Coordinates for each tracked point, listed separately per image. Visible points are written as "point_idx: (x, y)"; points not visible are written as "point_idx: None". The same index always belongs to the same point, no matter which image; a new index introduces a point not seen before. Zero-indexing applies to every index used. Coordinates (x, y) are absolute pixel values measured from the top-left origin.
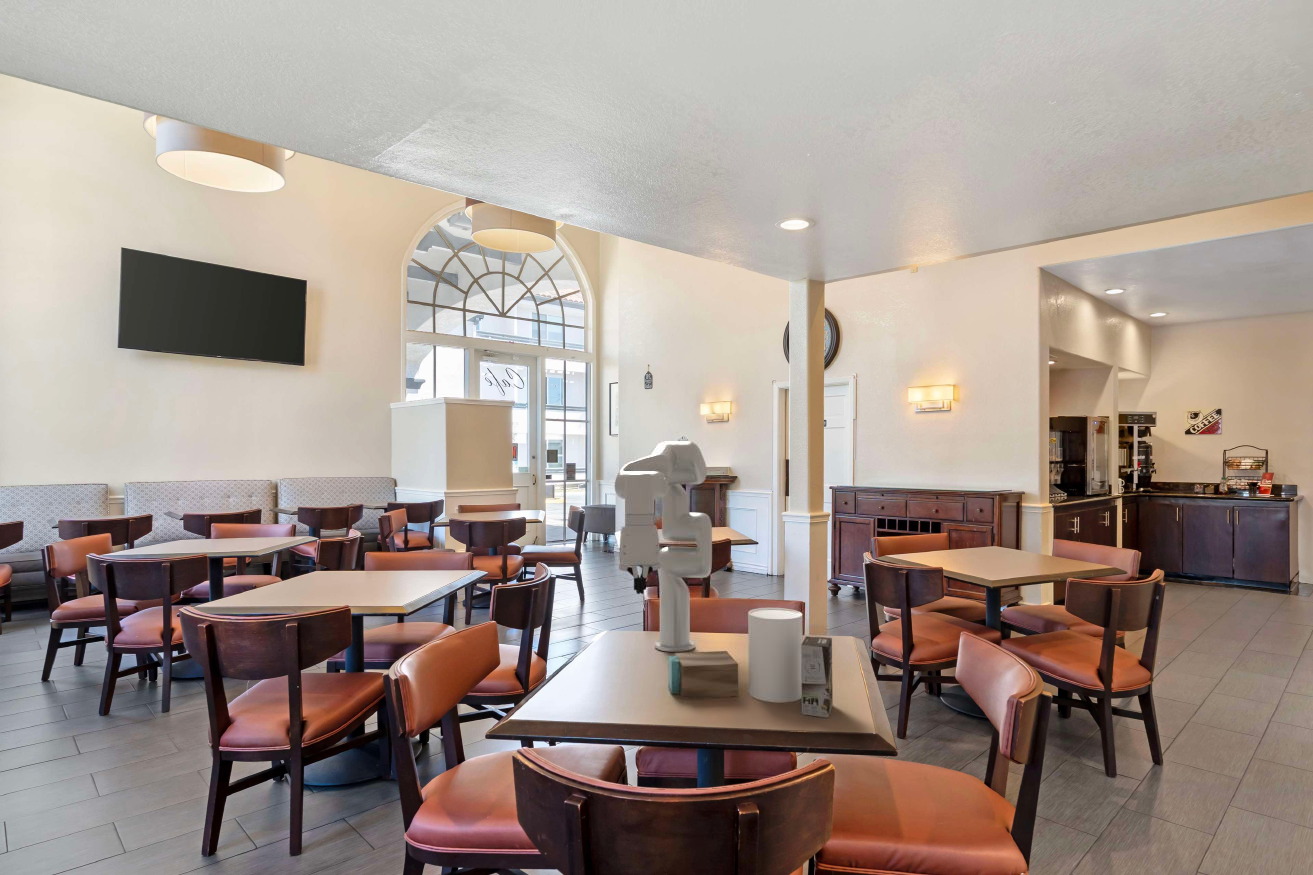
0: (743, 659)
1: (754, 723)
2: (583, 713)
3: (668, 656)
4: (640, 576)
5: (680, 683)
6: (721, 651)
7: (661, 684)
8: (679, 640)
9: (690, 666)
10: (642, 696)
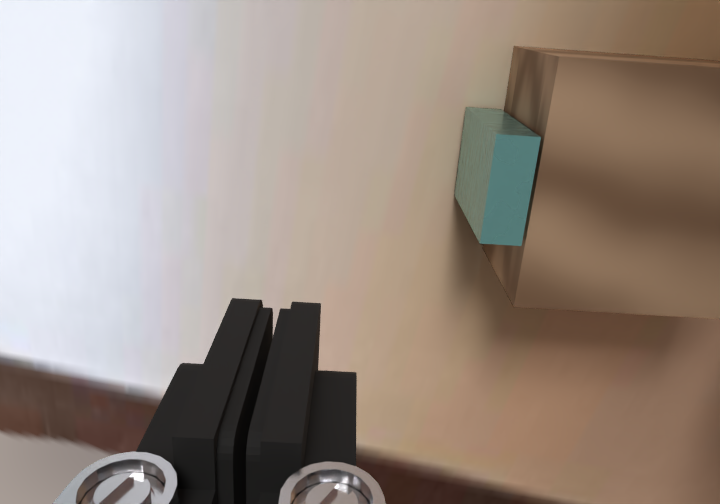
0: None
1: (620, 483)
2: (94, 313)
3: (494, 138)
4: (261, 473)
5: None
6: None
7: (449, 41)
8: None
9: (550, 307)
10: (331, 185)
